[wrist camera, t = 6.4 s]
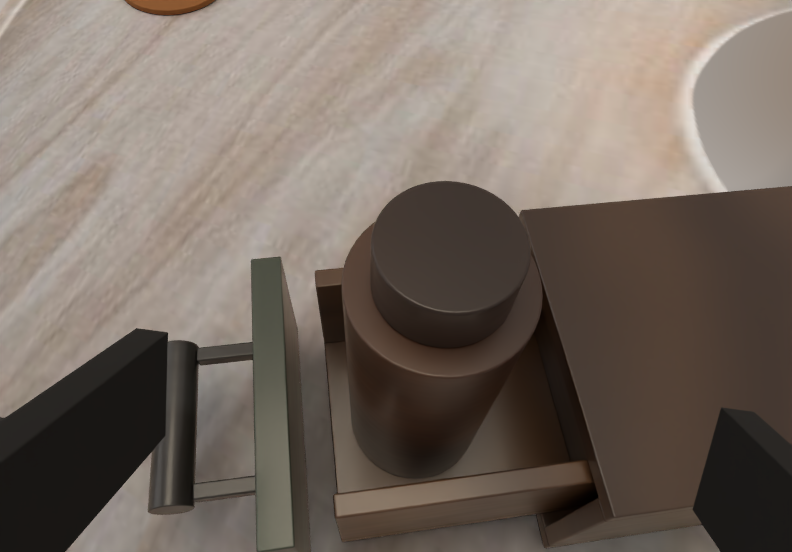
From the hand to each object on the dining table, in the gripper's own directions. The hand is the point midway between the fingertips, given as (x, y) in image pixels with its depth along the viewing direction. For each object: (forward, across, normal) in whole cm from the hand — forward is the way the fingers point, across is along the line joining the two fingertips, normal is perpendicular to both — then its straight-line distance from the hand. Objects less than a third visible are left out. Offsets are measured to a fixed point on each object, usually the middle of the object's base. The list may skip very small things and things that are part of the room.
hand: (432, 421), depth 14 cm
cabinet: (+15, +12, -5) cm, 20 cm away
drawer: (+12, -2, -7) cm, 14 cm away
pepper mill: (+12, 0, -6) cm, 13 cm away
